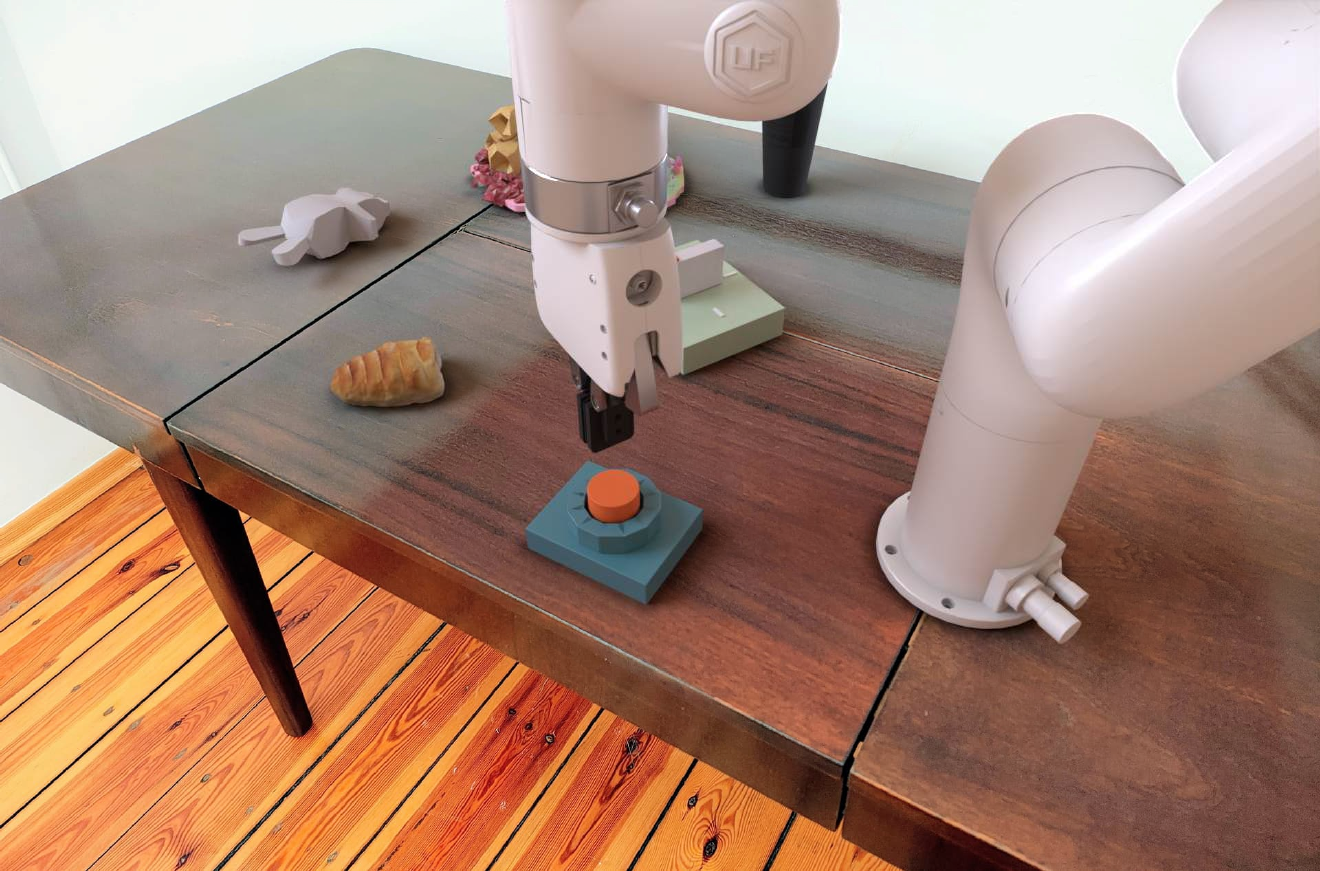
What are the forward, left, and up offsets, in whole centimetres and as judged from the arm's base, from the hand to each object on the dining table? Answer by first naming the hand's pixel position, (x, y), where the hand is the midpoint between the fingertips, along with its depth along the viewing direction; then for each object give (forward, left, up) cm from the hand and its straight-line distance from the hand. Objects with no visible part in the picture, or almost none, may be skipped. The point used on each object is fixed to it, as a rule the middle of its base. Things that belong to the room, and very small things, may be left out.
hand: (607, 438), depth 61 cm
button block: (0, 0, -10) cm, 10 cm away
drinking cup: (+35, -43, -10) cm, 56 cm away
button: (0, 0, -6) cm, 6 cm away
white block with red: (+20, -20, -7) cm, 29 cm away
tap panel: (+20, -20, -10) cm, 30 cm away
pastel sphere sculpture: (+50, -25, -10) cm, 57 cm away
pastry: (+25, +7, -10) cm, 28 cm away
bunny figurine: (+51, +5, -10) cm, 52 cm away
